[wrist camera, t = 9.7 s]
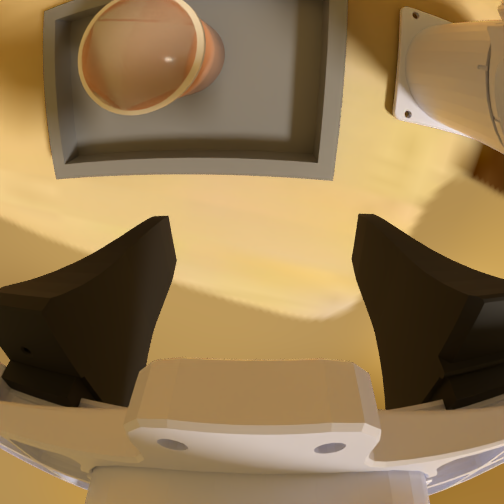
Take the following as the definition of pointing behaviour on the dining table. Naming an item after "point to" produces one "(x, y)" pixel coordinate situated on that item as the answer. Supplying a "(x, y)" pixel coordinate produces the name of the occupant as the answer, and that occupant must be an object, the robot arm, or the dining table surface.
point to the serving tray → (211, 97)
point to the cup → (147, 55)
